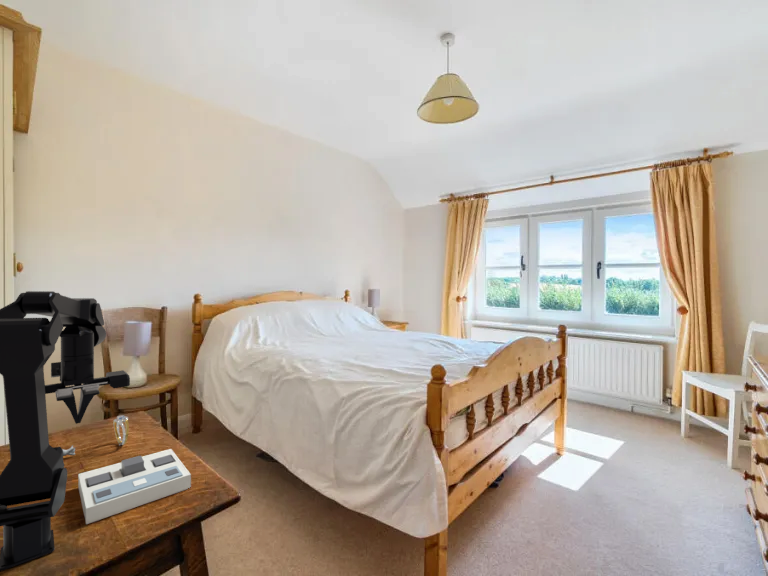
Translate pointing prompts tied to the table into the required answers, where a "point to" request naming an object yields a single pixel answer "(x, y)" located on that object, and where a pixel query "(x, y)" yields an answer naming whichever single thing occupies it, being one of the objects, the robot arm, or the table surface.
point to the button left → (98, 479)
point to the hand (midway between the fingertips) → (77, 422)
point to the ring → (116, 429)
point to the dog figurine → (69, 451)
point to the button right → (162, 461)
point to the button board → (131, 486)
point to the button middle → (132, 466)
